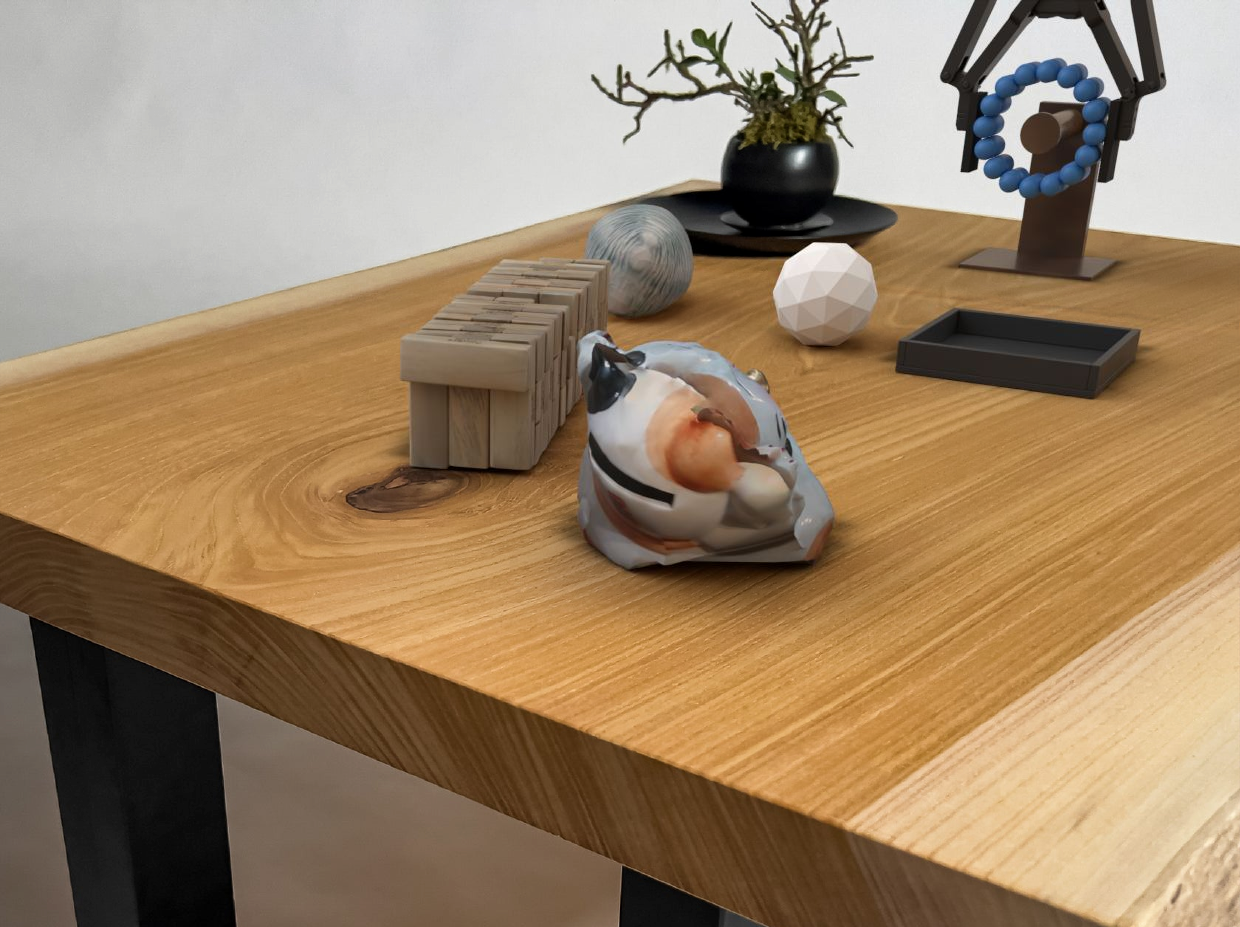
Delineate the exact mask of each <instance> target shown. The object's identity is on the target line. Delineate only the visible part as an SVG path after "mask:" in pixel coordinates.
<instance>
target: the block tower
mask: <svg viewBox="0 0 1240 927" xmlns="http://www.w3.org/2000/svg"><path fill="white" fill-rule="evenodd" d="M610 263H611V262H610V261H609V260H598V259H585V258H577V259H575V260H574V259H573V258H561V257H545V256H543V257H540V258H539V259H537V260H524V259H511V258H510V259H509V258H504V259H502V260H500V262H499V263H498V264H497V265H496V266H495V265H494V266H493V267H491V269H489V271H487V272H486V274H484V275H482V277H481V279H479V280H477V281H476V282H474V283H473V284H472V285H471V286H470V287H468V288H467V289H466V291H465V294H459V295H457V296H455V297H454V299H453V300H452V301H451V302H450V303H449V304H447V305H445V306H442V308H440V309H439V310H438V312H437V313H435V315H433V316H432V319H430V320H429V321H428V322H426V323H425V324H424V325H423V326H421V328H420V329H419V330H416V331H415V332H414V333H406V334H405V335H403V336H402V337H401V338H400V342H399V344H400V347H399V351H400V352H399V359H400V360H399V379H400V381H401V382H408V417H409V418H408V419H409V422H408V423H409V424H408V425H409V427H408V428H409V431H408V432H409V465H410V467H413V468H429V469H441V470H446V469H448V468H450V467H458V468H470V469H484V470H486V469H489V468H494V469H503V470H517V471H518V470H519V471H530V470H531V468H533V467H536V465H537V464H538V462H539V460H540V458H541V456H542V454H543V452H544V451H545V450H546V449H547V448H548V445H549V444H550V442H551V440H552V438H553V437H554V436H555V434H556V431H557V430H558V428H559V427H562V426H563V425H564V424H565V422H566V416H568V415H570V413H571V411H572V408H573V407H574V406H575V405H576V404H578V402H579V400H580V398H581V396H582V395H584V393H583V386H582V384H581V382H580V379H579V376H578V370H577V365H578V358H579V354H578V352H577V343H578V340H581V339H582V338H583V337H585V336H586V335H588V334H590V333H593V332H595V331H598V330H600V331H603V332H608V317H609V315H608V314H609V313H608V300H609V282H610Z"/></svg>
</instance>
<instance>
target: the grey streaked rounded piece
mask: <svg viewBox="0 0 1240 927" xmlns="http://www.w3.org/2000/svg"><path fill="white" fill-rule="evenodd" d="M584 252H585V253H584V259H598V260H609V261H610V262H611V263H610V282H609V300H608V314H610V315H612V316H615V317H617V318H622V319H623V318H624V319H628V320H634V319H637V318H642V317H648V316H652V315H655V314H657V313H659V312H661V311H663V310H665V309H667V308H668V307H670V306H671V305H673V303H675V302H677V301H678V300H679V299H680V298H681V297H682V296H683V295H684V294H685V293H686V292H687V291H688V289H689V288H690V285H691V283H692V278H693V272H694V255H693V249H692V244H691V242H690V238H689V235H688V233H687V231H686V230H685V228H684V227H683V225H682V223H681V222H680V221H679V219H678V218H677V217H676V216H675V215H674V214H673V213H672V212H671V211H669V210H668V209H666V208H664V207H662V206H658V205H653V204H645V203H644V204H643V203H642V204H631V205H626V206H623V207H619V208H617V209H615V210H613V211H611V212H609V213H607V214H605V215H604V216H602V217H601V218H600V219H599V220H598V221H597V222H596V223H595V224H594V225H593V226H592V227H591V229H590V230H589V231H588V234H587V238H586V243H585V249H584Z"/></svg>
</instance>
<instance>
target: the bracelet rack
mask: <svg viewBox="0 0 1240 927" xmlns="http://www.w3.org/2000/svg"><path fill="white" fill-rule="evenodd" d="M1086 103H1087V102H1084V103H1082V102H1072V101H1070V102H1068V101H1051V100H1042V101H1040V102H1039V104H1038V112H1036V113H1034V114H1032V115H1030V116H1029V117H1027V118H1026V120H1024V122H1023V123H1022V126H1021V128H1020V132H1019V140H1020V143H1021V146H1022V147H1023V148H1024V150H1026V151H1027V152H1028V153H1030V154H1031V156H1030V157H1031V158H1030V164H1029V170H1028V172H1029V176H1032V175H1034V174H1037V173H1043V174H1045V175H1046V176H1047V175H1049V174H1051V173H1054V172H1056V171H1059V170H1061V169H1062V168H1063V167H1064V166H1065V165H1067V164H1069V163H1071V162H1073V161H1075V154H1076V152H1077V150H1078V149H1079V148H1080V147H1082V146H1084V145H1087V143H1086V142H1085V141H1084V139H1083V132H1084V130H1085V128H1086V127H1087V126H1088V125H1090V124H1092V123H1091V122H1087V121H1086V120H1085V119H1084V118H1083V115H1082V110H1083V107H1084V106H1085V104H1086ZM1102 120H1108V117H1107V118H1105V119H1102ZM1102 144H1104V142H1102ZM1100 162H1101V161H1100ZM1100 162H1098V163H1096V164H1094V165H1092V166H1090V173H1089V175H1088V177H1087V178H1086V179H1084V180H1082V181H1080V182H1078V183H1076V184H1074V185H1069V186H1068V188H1067V189H1066V190H1064V191H1062V192H1060V193H1058V194H1056V195H1054V196H1046V195H1044V194H1043V193H1042V194H1040V195H1038V196H1036V197H1034V198H1031V199H1026V198H1024V203H1023V204H1024V205H1023V212H1022V217H1021V224H1020V231H1019V239H1018V245H1017V249H1011V248H1010V249H1009V248H1001V247H999V248H998V247H988V248H986V249H984V250H982V251H980V252H977V254H975V255H973V256H971V257H969V258H967V259H965V260H963V261H961V262H959V263H958V265H957V267H958V268H961V269H969V270H980V271H991V272H998V273H999V272H1000V273H1009V274H1019V275H1029V276H1038V277H1048V278H1057V279H1067V280H1077V281H1087V282H1091V281H1093V280H1094V279H1096V278H1098V277H1099V276H1100V275H1102V274H1103V273H1104V272H1106V271H1107V270H1109V269H1110V268H1111V267H1113V266H1114V265H1116V264H1117V259H1115V258H1103V257H1094V256H1085V253H1086V247H1087V241H1088V235H1089V229H1090V223H1091V217H1092V212H1093V206H1094V200H1095V194H1096V189H1097V183H1098V182H1097V179H1098V174H1099V168H1100Z"/></svg>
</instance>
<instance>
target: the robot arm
mask: <svg viewBox="0 0 1240 927" xmlns="http://www.w3.org/2000/svg"><path fill="white" fill-rule="evenodd" d="M997 2H998V0H974V1H973V3H972V5H971V7H970V8H969V9H970V10H969V11H968V14H967V15H966V18H965V20H964V22H963V24H962V26H961V28H960V31H959V33H958V35H957V37H956V38H955V42H954V43H953V46H952V48H951V50H950V52H949V54H948V56H947V59H946V61H945V63H944V65H943V67H942V69H941V71H940V75H939V80H940V82H941V83H943V84H948V85H950V86H952V87H954V88H956V90H957V91H958V103H957V104H958V105H957V110H956V119H955V129H956V131H957V132H965V133H964V141H963V148H962V156H961V163H960V170H959V172H960V173H963V174H964V173H965V174H969V173H972V172H975V171H977V170H978V169H979V162H980V159H979V158H977V157H976V155H975V151H974V150H975V146H976V144H977V143H978V141H980V140H981V139H983V138H979V137H977V136H976V135H975V133H974V130H973V127H974V123H975V122H976V120H977V119H979V118H980V117H983V116H986V115H984V114H983V113H982V111H981V108H980V105H981V102H982V100H983V99H984V97H986V96H987V95H989V91H980V89H981V88H982V84H983V83H984V82H985V81H986V79H987V78H988V77H989V75H990V74H991V73H992V71H993V70H994V69H995V68H996V67H997V65H998V64H999V62H1000V61H1001V60H1002V59H1003V57H1004V56H1005V55H1006V54H1007V52H1008V51H1010V48H1011V47H1012V46H1013V45H1014V43H1015V42H1016V41H1017V39H1018V38H1019V37H1020V35H1021V34H1022V33H1023V31H1025V29H1026V28H1027V27H1028V26H1029V25H1030V24H1031V23H1032V22H1033V20H1035V18H1037V19H1045V20H1047V19H1053V18H1058V17H1059V18H1062V19H1064V20H1080V19H1084V21H1085V24H1086V26H1087V27H1088V28H1089V30H1090V31H1091V33H1092V36H1093V38H1094V40H1095V42H1096V45H1097V46H1098V49H1099V50H1100V53H1101V54H1102V57H1103V59H1104V62H1105V64H1106V66H1107V69H1108V70H1109V72H1110V76H1111V77H1112V79H1113V81H1114V83H1115V86H1116V88H1117V90H1118V92H1119V94H1120V97H1118V98H1114V99H1111V102H1110V108H1109V114H1108V118H1107V126H1106V135H1105V138H1104V142H1103V150H1102V156H1101V161H1100V165H1099V171H1098V177H1097V182H1096V183H1099V184H1107V183H1109V182H1111V181H1113V180H1114V178H1115V171H1116V166H1117V161H1118V156H1119V149H1120V144H1121V142H1128V141H1130V140H1131V139H1132V138H1133V136H1134V134H1135V129H1136V125H1137V124H1136V122H1137V120H1138V119H1137V118H1138V112H1139V107H1140V102H1141V100H1142V99H1143V98H1144V97H1145V96H1148V95H1152V94H1155V93H1159V92H1161V91H1162V90H1164V89H1165V88H1166V86H1167V76H1166V71H1165V70H1166V69H1165V65H1164V59H1163V54H1162V47H1161V42H1160V36H1159V30H1158V24H1157V18H1156V13H1155V7H1154V3H1153V2H1154V1H1153V0H1129V2H1130V9H1131V10H1130V11H1131V15H1132V22H1133V25H1134V26H1133V27H1134V33H1135V39H1136V43H1137V44H1136V45H1137V50H1138V55H1139V60H1140V67H1141V72H1142V78H1143V80H1141V81H1140V79H1139V77H1138V75H1137V73H1136V70H1135V68H1134V66H1133V64H1132V62H1131V59H1130V58H1129V55H1128V53H1127V51H1126V49H1125V46H1124V44H1123V42H1122V40H1121V38H1120V36H1119V33H1118V32H1117V29H1116V27H1115V25H1114V23H1113V21H1112V16H1111V13H1110V10H1109V8H1108V7H1107V4H1106V2H1105V0H1020V1H1019V2H1018V4H1017V5H1016V6H1015V7H1014V8H1013V10H1012V11H1011V12H1010V14H1009V16H1008V18H1007V20H1006V21H1005V22H1004V23H1003V25H1002V26H1001V27H1000V29H999V30H998V31H997V32H996V34H995V35H994V36H993V38H992V39H991V40H990V42H989V43H988V44H987V45H986V47H985V48H984V49H983V51H982V52H981V54H979V56H978V57H977V59H976V60H975V61H974V62H973V64H972V65H971V66H970V68H969V69H968V70H967V71H965V69H966V68H967V65H968V63H969V61H970V59H971V57H972V54H973V53H974V51H975V48H976V46H977V44H978V42H979V40H980V38H981V36H982V33H983V31H984V29H985V28H986V25H987V23H988V21H989V18H990V16H991V14H992V12H993V10H994V8H995V7H996V4H997Z"/></svg>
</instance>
